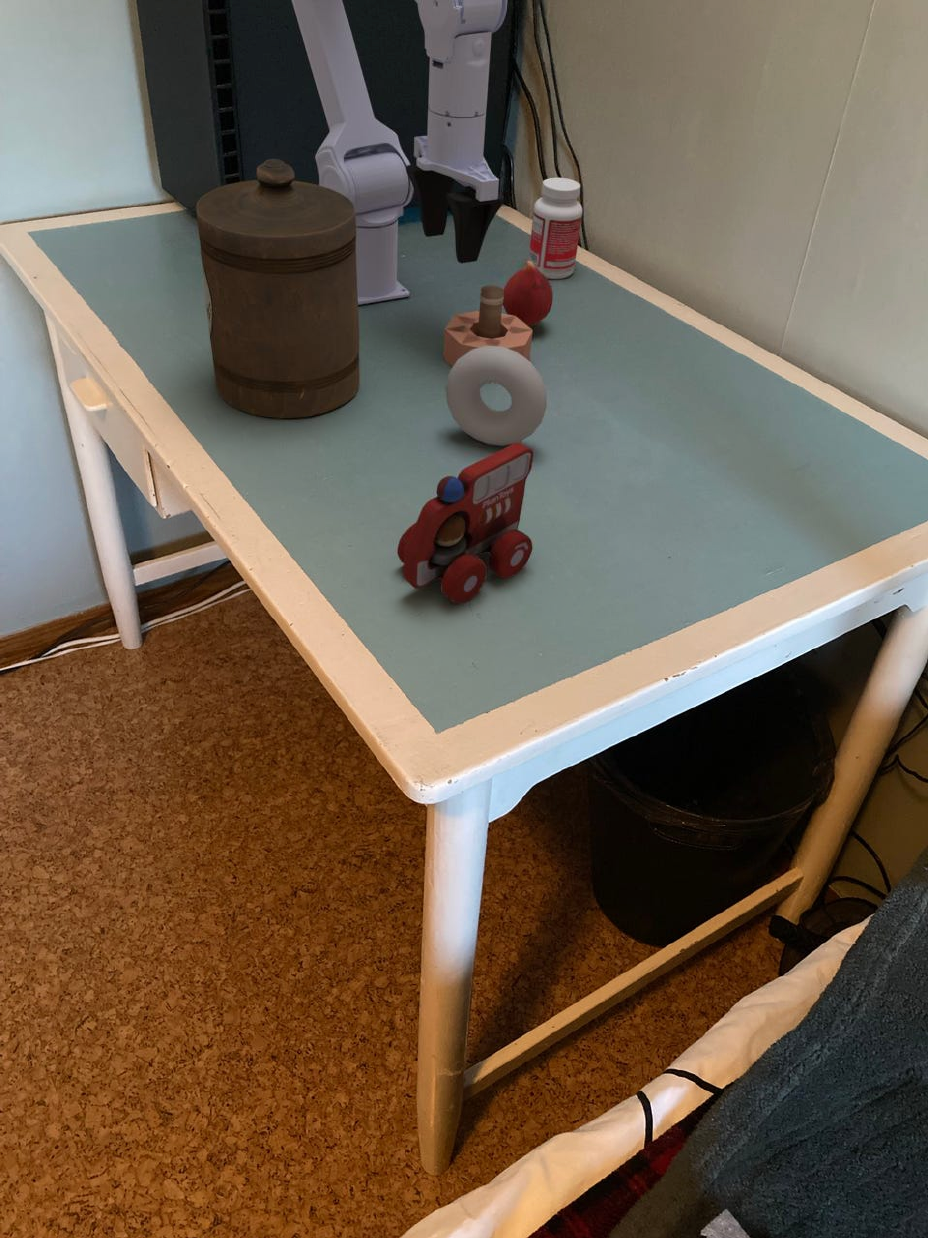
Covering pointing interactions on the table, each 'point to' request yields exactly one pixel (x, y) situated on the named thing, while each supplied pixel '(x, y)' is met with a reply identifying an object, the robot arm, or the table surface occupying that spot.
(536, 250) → the pill bottle
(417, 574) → the toy fire truck
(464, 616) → the table surface
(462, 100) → the robot arm
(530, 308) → the onion
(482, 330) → the case
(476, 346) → the orange octagonal ring
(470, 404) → the donut
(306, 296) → the wooden container
